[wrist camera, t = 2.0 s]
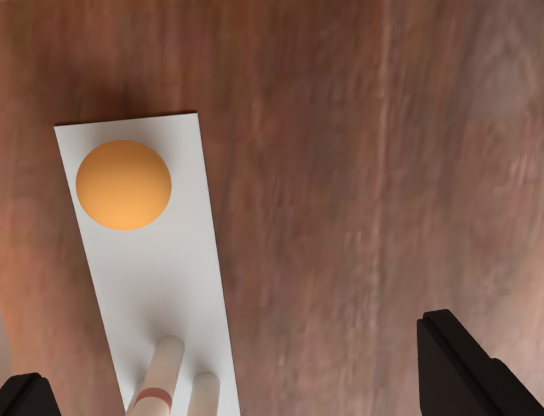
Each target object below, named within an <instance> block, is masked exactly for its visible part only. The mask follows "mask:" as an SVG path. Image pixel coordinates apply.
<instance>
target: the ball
mask: <svg viewBox="0 0 544 416" xmlns="http://www.w3.org/2000/svg"><path fill="white" fill-rule="evenodd" d="M75 184H76V193H77V197H78V200H79V202H80V204H81V206H82V208H83V210H84V211H85V212H86V213H87V215H88V216H89V217H90V218H92V219H93V220H94V221H95V222H97V223H99V224H100V225H102V226H105V227H107V228H110V229H114V230H121V231H127V230H135V229H139V228H142V227H144V226H146V225H148V224H150V223H152V222H153V221H154V220H156V219H157V218H158V217H159V216H160V215H161V214H162V213H163V211H164V210H165V208H166V206H167V204H168V202H169V199H170V196H171V189H172V183H171V176H170V173H169V170H168V167H167V166H166V164H165V162H164V161H163V159H162V158H161V157H160V156H159V155H158V154H157V153H156V152H155V151H154V150H152V149H151V148H150V147H148V146H146V145H144V144H142V143H139V142H135V141H130V140H115V141H110V142H107V143H104V144H102V145H100V146H98V147H96V148H95V149H93V150H92V151H91V152H90V153H89V154H88V155H87V156H86V157H85V158H84V160H83V161H82V163H81V164H80V166H79V169H78V172H77V176H76V183H75Z"/></svg>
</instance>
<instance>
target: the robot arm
mask: <svg viewBox="0 0 544 416" xmlns="http://www.w3.org/2000/svg"><path fill="white" fill-rule="evenodd" d="M417 345H418V371H419V397H420V409H421V413H422V416H544V408H543V406H542V405H541V404H540V403H539V402H538V401H537V400H536V399H535V398H534V396H533V395H532V394H531V393H530V392H529V391H528V390H527V389H526V387H525V386H524V385H523V384H522V383H521V382H520V381H519V380H518V378H517V377H516V376H515V375H514V374H513V373H512V372H511V371H510V369H509V368H508V367H507V366H506V365H505V364H504V363H503V362H502V361H501V360H499V359H497V358H492V359H491V358H490V357H489V356H488V355H487V353H486V352H485V351H484V350H483V349H482V348H481V346H480V345H479V344H478V343H477V342H476V341H475V339H474V338H473V337H472V336H471V335H470V334H469V332H468V331H467V330H466V329H465V328H464V327H463V325H462V324H461V323H460V322H459V321H458V320H457V318H456V317H455V316H454V315H453V314H452V313H451V312H450V311H449V310H448V309H443V310H437V311H430V312H425V313H424V314H423V319H418V320H417ZM0 416H61V413H60V411H59V408H58V405H57V402H56V400H55V397H54V394H53V392H52V389H51V386H50V384H49V381H48V380H47V379H46V378H44V377H41V375H40V374H39V373H29V374H22V375H16V376H12V377H10V378H9V379H8V380H7V381H6V382H5V384H4V385H3V386H2V387H1V389H0Z"/></svg>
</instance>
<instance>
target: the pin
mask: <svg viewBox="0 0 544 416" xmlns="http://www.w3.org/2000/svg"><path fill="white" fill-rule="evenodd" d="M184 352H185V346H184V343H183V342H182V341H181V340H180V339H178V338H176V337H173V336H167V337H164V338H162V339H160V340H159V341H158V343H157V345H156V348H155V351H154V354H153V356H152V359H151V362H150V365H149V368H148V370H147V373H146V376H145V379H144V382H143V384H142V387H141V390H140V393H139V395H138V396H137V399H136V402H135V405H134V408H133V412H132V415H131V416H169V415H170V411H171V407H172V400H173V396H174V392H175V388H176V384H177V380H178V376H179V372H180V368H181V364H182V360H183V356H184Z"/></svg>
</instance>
